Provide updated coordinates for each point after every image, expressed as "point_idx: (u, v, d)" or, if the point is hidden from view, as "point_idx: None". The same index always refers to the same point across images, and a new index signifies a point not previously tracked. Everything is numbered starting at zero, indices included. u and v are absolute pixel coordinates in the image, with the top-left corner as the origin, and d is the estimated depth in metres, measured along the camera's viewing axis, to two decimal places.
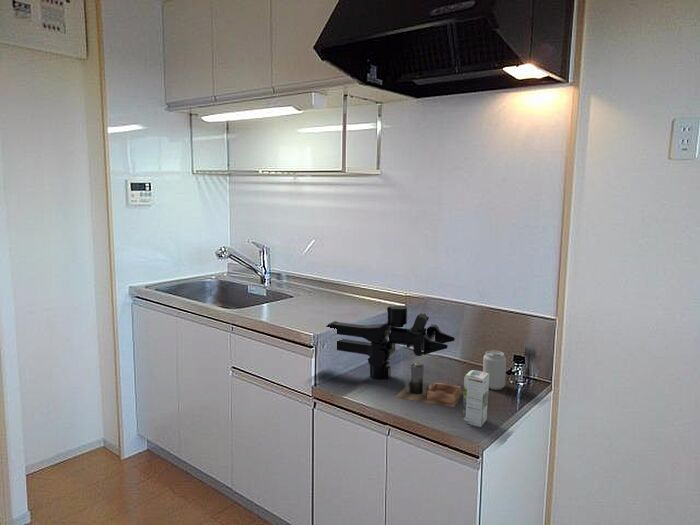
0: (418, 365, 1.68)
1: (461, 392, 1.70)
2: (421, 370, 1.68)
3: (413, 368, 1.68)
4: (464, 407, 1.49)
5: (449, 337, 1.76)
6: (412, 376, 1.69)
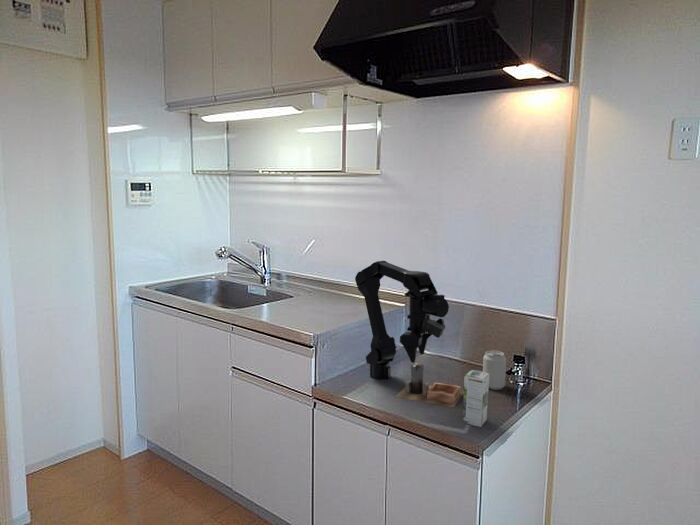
0: (418, 365, 1.68)
1: (461, 392, 1.70)
2: (421, 370, 1.68)
3: (413, 368, 1.68)
4: (464, 407, 1.49)
5: (423, 349, 1.72)
6: (412, 376, 1.69)
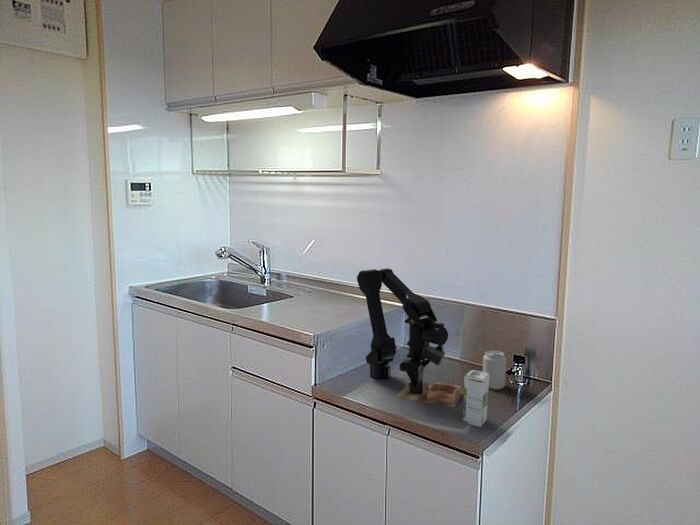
0: None
1: (461, 392, 1.70)
2: None
3: None
4: (464, 407, 1.49)
5: None
6: None
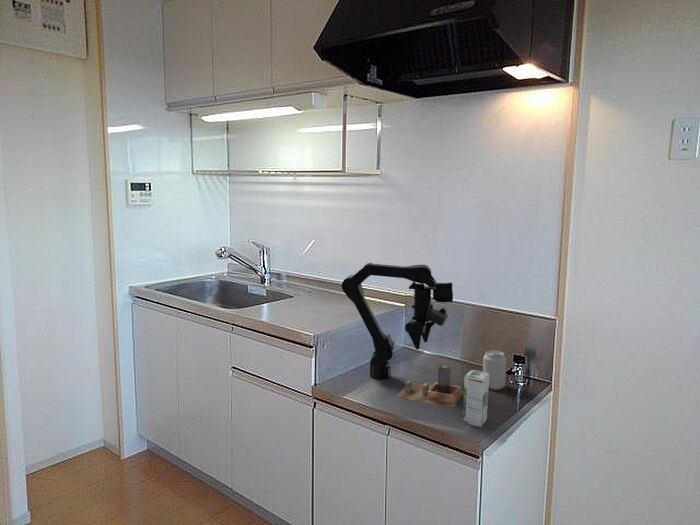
0: (445, 368, 1.64)
1: (461, 392, 1.70)
2: (448, 374, 1.64)
3: (440, 371, 1.64)
4: (464, 407, 1.49)
5: (426, 337, 1.84)
6: (439, 379, 1.65)
